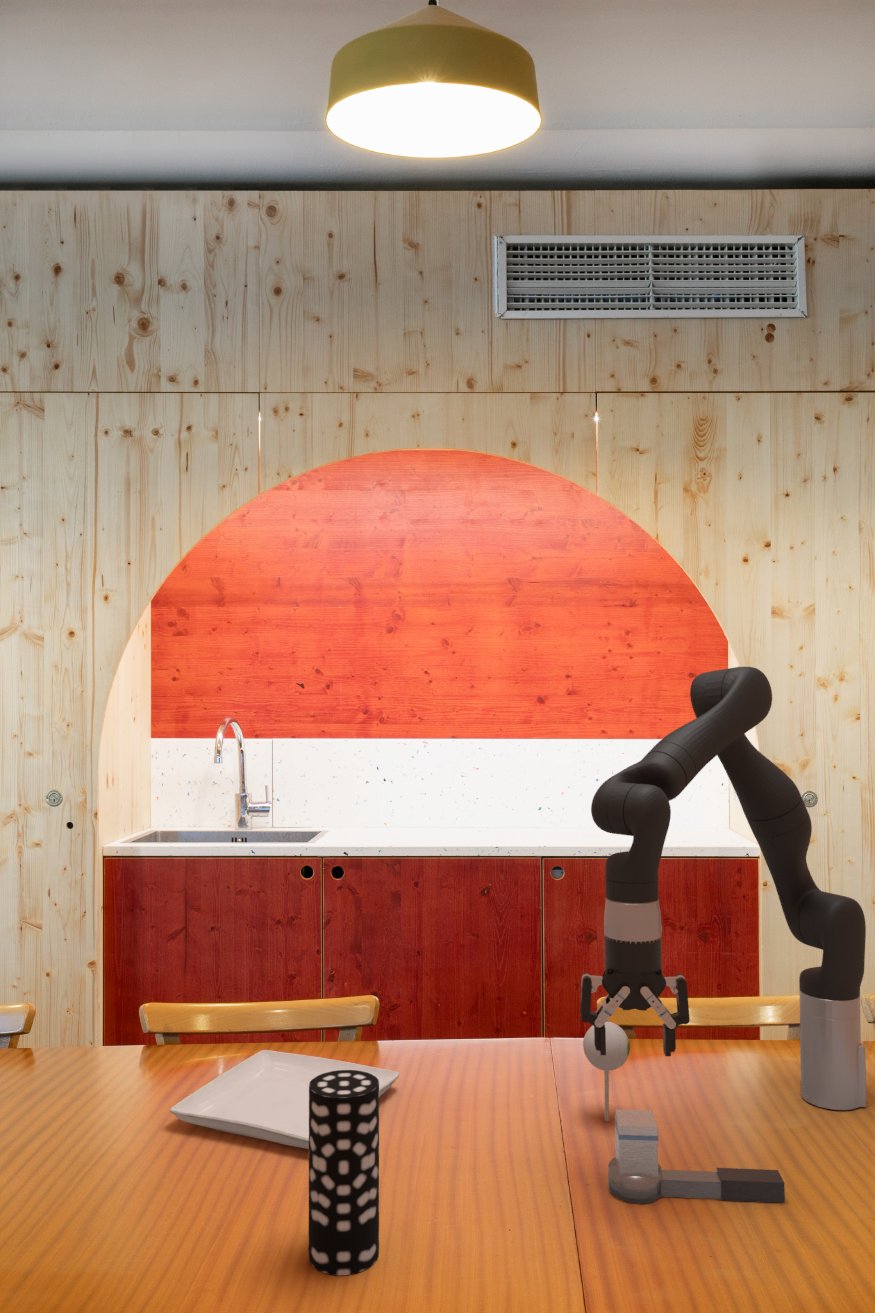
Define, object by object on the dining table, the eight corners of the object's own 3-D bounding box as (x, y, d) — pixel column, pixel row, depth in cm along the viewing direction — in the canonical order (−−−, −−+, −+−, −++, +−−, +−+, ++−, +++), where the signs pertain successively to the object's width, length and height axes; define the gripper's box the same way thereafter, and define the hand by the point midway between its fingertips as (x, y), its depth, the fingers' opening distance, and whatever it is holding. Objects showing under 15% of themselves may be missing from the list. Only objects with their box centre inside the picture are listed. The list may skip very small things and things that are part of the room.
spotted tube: (310, 1237, 120) (310, 1071, 120) (378, 1233, 120) (378, 1069, 121) (306, 1278, 111) (307, 1099, 112) (379, 1274, 112) (379, 1096, 113)
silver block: (652, 1159, 133) (652, 1110, 133) (658, 1177, 128) (658, 1127, 128) (614, 1157, 133) (614, 1109, 134) (619, 1176, 128) (618, 1126, 129)
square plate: (165, 1133, 149) (165, 1107, 149) (263, 1068, 174) (263, 1046, 174) (323, 1166, 138) (323, 1138, 138) (402, 1092, 164) (402, 1068, 164)
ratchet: (774, 1183, 132) (773, 1130, 133) (788, 1210, 125) (787, 1155, 126) (606, 1176, 134) (606, 1124, 135) (610, 1203, 127) (610, 1148, 128)
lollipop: (630, 1133, 147) (629, 1032, 148) (582, 1128, 149) (581, 1029, 149) (630, 1113, 154) (629, 1016, 155) (584, 1109, 156) (584, 1013, 156)
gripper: (682, 925, 135) (684, 1045, 134) (577, 924, 136) (579, 1042, 135) (691, 940, 127) (693, 1066, 127) (580, 938, 128) (582, 1063, 128)
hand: (634, 1054), depth 131 cm, fingers open, 8 cm apart
